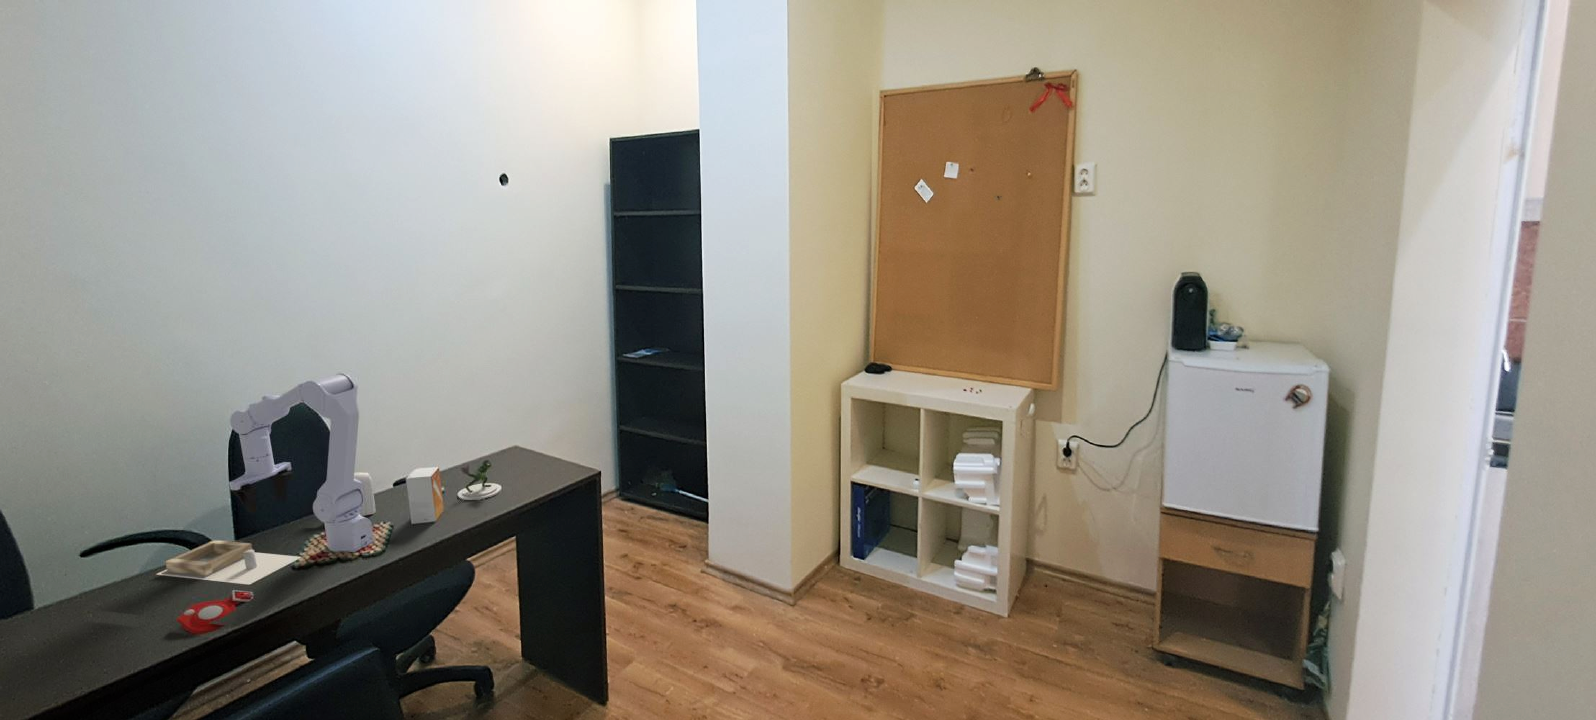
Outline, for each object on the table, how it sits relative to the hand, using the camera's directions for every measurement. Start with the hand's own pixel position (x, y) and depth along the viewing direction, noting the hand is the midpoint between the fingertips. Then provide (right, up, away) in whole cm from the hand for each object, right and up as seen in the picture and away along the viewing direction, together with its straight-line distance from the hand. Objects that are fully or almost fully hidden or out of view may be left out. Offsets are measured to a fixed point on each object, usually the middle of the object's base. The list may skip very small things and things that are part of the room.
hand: (266, 506), depth 173 cm
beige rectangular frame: (-4, -11, -11) cm, 16 cm away
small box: (+32, -7, +17) cm, 36 cm away
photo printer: (+11, -7, +18) cm, 22 cm away
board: (+1, -13, -12) cm, 18 cm away
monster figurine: (+38, -3, +33) cm, 51 cm away
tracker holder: (+15, -17, -32) cm, 39 cm away
